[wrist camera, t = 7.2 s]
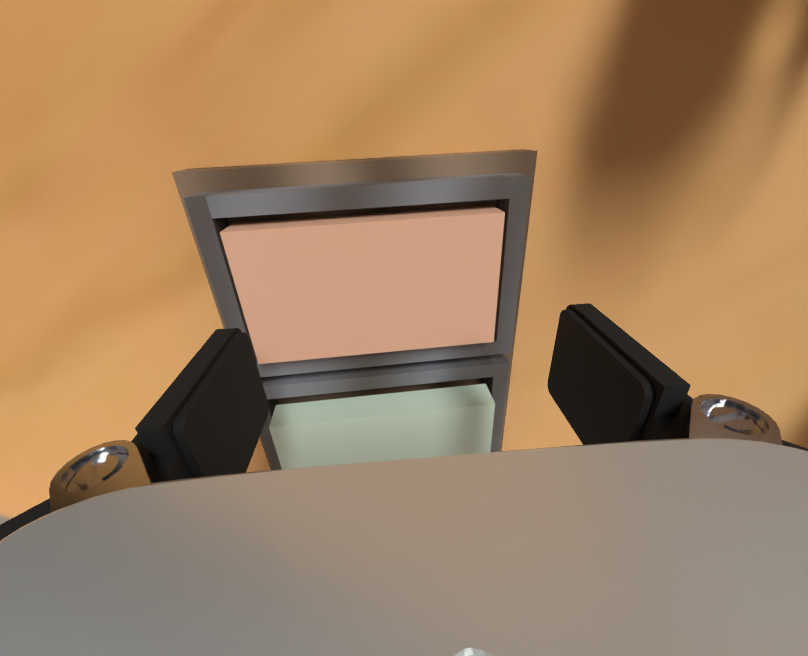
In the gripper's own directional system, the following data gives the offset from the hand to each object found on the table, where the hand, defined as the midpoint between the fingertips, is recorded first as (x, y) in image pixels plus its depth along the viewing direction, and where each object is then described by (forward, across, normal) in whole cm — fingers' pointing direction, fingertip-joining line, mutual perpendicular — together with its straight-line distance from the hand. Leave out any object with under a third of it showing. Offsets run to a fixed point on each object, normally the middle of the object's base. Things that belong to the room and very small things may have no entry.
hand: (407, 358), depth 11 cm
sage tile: (+6, +1, +9) cm, 11 cm away
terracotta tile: (+7, +1, 0) cm, 7 cm away
